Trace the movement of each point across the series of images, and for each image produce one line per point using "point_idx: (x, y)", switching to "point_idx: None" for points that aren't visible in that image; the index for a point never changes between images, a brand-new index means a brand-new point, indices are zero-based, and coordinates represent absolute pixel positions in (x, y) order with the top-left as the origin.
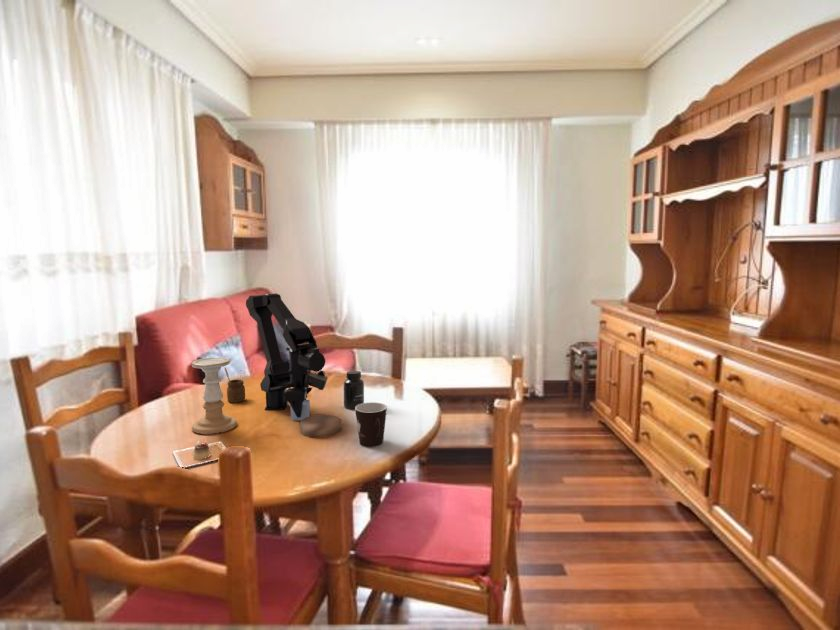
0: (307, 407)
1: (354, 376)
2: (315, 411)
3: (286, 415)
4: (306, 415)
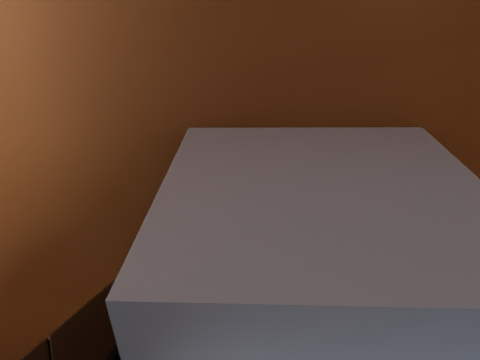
0: (459, 234)
1: None
2: (29, 71)
3: None
4: (453, 167)
